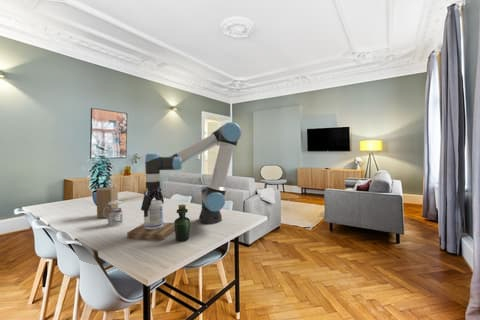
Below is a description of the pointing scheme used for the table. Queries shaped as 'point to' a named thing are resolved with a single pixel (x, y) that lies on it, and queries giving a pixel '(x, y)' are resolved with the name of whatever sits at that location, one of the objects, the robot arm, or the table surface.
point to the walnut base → (151, 232)
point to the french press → (116, 212)
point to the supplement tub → (155, 215)
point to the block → (106, 200)
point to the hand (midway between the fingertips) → (153, 218)
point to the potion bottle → (182, 224)
